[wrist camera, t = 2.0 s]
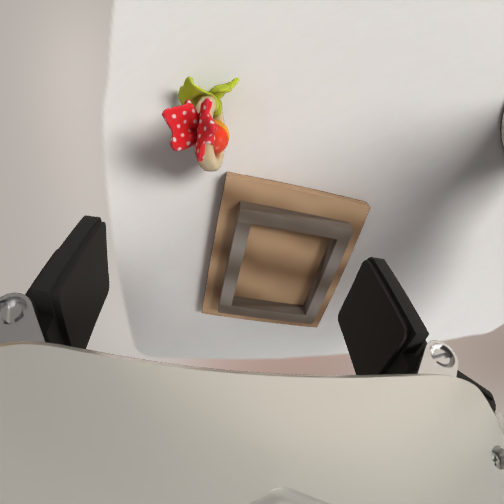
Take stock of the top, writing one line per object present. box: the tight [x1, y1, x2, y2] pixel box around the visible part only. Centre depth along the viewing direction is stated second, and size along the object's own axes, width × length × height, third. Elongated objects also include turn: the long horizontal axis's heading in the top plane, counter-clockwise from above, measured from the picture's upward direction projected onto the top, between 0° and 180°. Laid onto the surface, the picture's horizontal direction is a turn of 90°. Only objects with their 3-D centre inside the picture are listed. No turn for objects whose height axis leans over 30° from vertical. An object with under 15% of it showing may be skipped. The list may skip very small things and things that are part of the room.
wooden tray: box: [202, 172, 370, 327], centre depth 40 cm, size 20×17×4 cm
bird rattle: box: [162, 77, 239, 171], centre depth 27 cm, size 6×11×9 cm
